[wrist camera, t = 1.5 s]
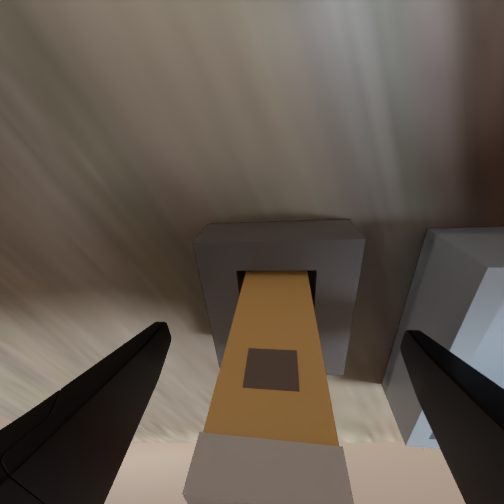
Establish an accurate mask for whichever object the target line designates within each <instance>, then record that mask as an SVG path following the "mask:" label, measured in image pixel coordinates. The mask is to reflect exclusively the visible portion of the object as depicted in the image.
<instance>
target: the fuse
mask: <svg viewBox="0 0 504 504" xmlns="http://www.w3.org/2000/svg"><path fill="white" fill-rule="evenodd" d="M183 495H184V497H185V499H186V501H187V503H188V504H354V502H353V497H352V491H351V486H350V481H349V476H348V471H347V466H346V461H345V456H344V451H343V447H340V446H339V443H338V437H337V432H336V426H335V421H334V416H333V410H332V405H331V399H330V394H329V388H328V383H327V377H326V372H325V366H324V361H323V355H322V350H321V344H320V339H319V333H318V328H317V322H316V317H315V311H314V306H313V300H312V295H311V289H310V284H309V278H308V273H307V270H267V271H246V274H245V277H244V281H243V285H242V288H241V292H240V296H239V300H238V303H237V307H236V311H235V315H234V318H233V322H232V326H231V330H230V333H229V337H228V341H227V345H226V348H225V352H224V356H223V360H222V363H221V367H220V371H219V375H218V378H217V382H216V386H215V390H214V393H213V397H212V401H211V405H210V408H209V412H208V416H207V419H206V423H205V427H204V431H203V432H199V436H198V440H197V443H196V447H195V450H194V454H193V457H192V461H191V465H190V468H189V472H188V475H187V479H186V482H185V487H184V490H183Z"/></svg>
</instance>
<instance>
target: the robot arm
mask: <svg viewBox="0 0 504 504" xmlns="http://www.w3.org/2000/svg"><path fill="white" fill-rule="evenodd" d="M170 343H171V334H170V331H169V328H168V325H167V323H166V322H155V323H153V324H152V325H150V326H149V327H148V328H146V329H145V330H143V331H142V332H140V333H139V334H138V335H136V336H135V337H133V338H132V339H131V340H129V341H128V342H126V343H125V344H124V345H122V346H121V347H119V348H118V349H117V350H115V351H114V352H112V353H111V354H109V355H108V356H107V357H105V358H104V359H102V360H101V361H100V362H98V363H97V364H95V365H94V366H93V367H91V368H90V369H88V370H87V371H85V372H84V373H83V374H81V375H80V376H78V377H77V378H76V379H74V380H73V381H71V382H70V383H69V384H67V385H66V386H64V387H63V388H62V389H61V390H59V391H57V392H56V393H54V394H53V395H52V396H50V397H49V398H47V399H46V400H44V401H43V402H42V403H40V404H39V405H37V406H36V407H34V408H33V409H31V410H30V411H28V412H27V413H26V414H24V415H23V416H21V417H19V418H18V419H16V420H15V421H13V422H12V423H11V424H9V425H7V426H6V427H4V428H3V429H1V430H0V504H104V502H105V500H106V498H107V495H108V493H109V491H110V489H111V486H112V484H113V482H114V480H115V477H116V475H117V473H118V470H119V468H120V466H121V464H122V461H123V459H124V457H125V455H126V452H127V450H128V448H129V446H130V443H131V441H132V439H133V436H134V434H135V432H136V430H137V427H138V425H139V423H140V420H141V418H142V416H143V414H144V411H145V409H146V407H147V405H148V402H149V400H150V398H151V395H152V393H153V391H154V389H155V386H156V384H157V381H158V379H159V376H160V373H161V370H162V367H163V364H164V361H165V358H166V355H167V352H168V349H169V346H170ZM400 351H401V354H402V357H403V360H404V363H405V366H406V369H407V372H408V374H409V377H410V380H411V383H412V386H413V389H414V391H415V394H416V397H417V399H418V401H419V404H420V406H421V408H422V410H423V412H424V415H425V417H426V419H427V421H428V423H429V425H430V428H431V430H432V432H433V434H434V436H435V438H436V440H437V443H438V445H439V447H440V449H441V451H442V453H443V456H444V458H445V460H446V462H447V464H448V466H449V468H450V470H451V473H452V475H453V477H454V479H455V481H456V483H457V485H458V488H459V490H460V492H461V494H462V496H463V499H464V501H465V503H466V504H504V389H503V388H502V387H500V386H499V385H497V384H496V383H494V382H493V381H492V380H490V379H489V378H487V377H486V376H484V375H483V374H482V373H480V372H479V371H477V370H476V369H474V368H473V367H472V366H470V365H469V364H467V363H466V362H464V361H463V360H462V359H460V358H459V357H457V356H456V355H454V354H453V353H452V352H450V351H449V350H447V349H446V348H445V347H443V346H442V345H440V344H439V343H437V342H436V341H435V340H433V339H432V338H430V337H429V336H427V335H426V334H425V333H423V332H422V331H420V330H406V331H405V332H404V335H403V338H402V342H401V345H400Z"/></svg>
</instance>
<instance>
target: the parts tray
mask: <svg viewBox="0 0 504 504" xmlns="http://www.w3.org/2000/svg"><path fill="white" fill-rule="evenodd" d="M406 330H420V331H422V332H423V333H425V334H426V335H427V336H429V337H430V338H432V339H433V340H435V341H436V342H437V343H439V344H440V345H442V346H443V347H445V348H446V349H447V350H449V351H450V352H452V353H453V354H454V355H456V356H457V357H459V358H460V359H462V360H463V361H464V362H466V363H467V364H469V365H470V366H472V367H473V368H474V369H476V370H477V371H479V372H480V373H482V374H483V375H484V376H486V377H487V378H489V379H490V380H492V381H493V382H494V383H496V384H497V385H499V386H500V387H502V388H503V389H504V227H470V228H432V229H427V232H426V235H425V239H424V242H423V246H422V249H421V252H420V256H419V259H418V263H417V266H416V269H415V273H414V276H413V280H412V283H411V286H410V290H409V293H408V297H407V300H406V304H405V307H404V310H403V314H402V317H401V321H400V324H399V327H398V331H397V334H396V338H395V341H394V344H393V348H392V351H391V355H390V358H389V361H388V365H387V368H386V372H385V375H384V379H383V382H382V387H383V389H384V392H385V395H386V397H387V400H388V402H389V405H390V407H391V410H392V412H393V415H394V417H395V420H396V422H397V425H398V427H399V430H400V432H401V435H402V437H403V440H404V442H405V445H406V446H415V447H424V448H434V449H440V447H439V445H438V443H437V440H436V438H435V436H434V434H433V432H432V430H431V428H430V425H429V423H428V421H427V419H426V417H425V415H424V412H423V410H422V408H421V406H420V404H419V401H418V399H417V397H416V394H415V391H414V389H413V386H412V383H411V380H410V377H409V374H408V372H407V369H406V366H405V363H404V360H403V357H402V354H401V351H400V345H401V342H402V338H403V335H404V332H405V331H406Z"/></svg>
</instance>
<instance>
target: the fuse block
mask: <svg viewBox="0 0 504 504" xmlns="http://www.w3.org/2000/svg"><path fill="white" fill-rule="evenodd" d="M365 242H366V239H365V237H364V236H363V235H362V234H361V232H360V231H359V230H358V229H357V227H356V226H355V225H354V224H353V223H352V221H351V220H350V219H342V220H312V221H282V222H251V223H221V224H208V225H207V226H206V227H205V228H204V230H203V231H202V232H201V233H200V234H199V236H198V237H197V238H196V239H195V240H194V242H193V248H194V252H195V257H196V262H197V266H198V271H199V275H200V280H201V285H202V289H203V294H204V299H205V303H206V308H207V312H208V317H209V322H210V326H211V331H212V335H213V340H214V345H215V349H216V354H217V359H218V363H219V368H220V367H221V363H222V360H223V356H224V352H225V348H226V345H227V341H228V337H229V333H230V330H231V326H232V322H233V318H234V315H235V311H236V307H237V303H238V300H239V296H240V292H241V288H242V285H243V281H244V277H245V274H246V271H267V270H310V277H309V284H310V289H311V295H312V300H313V306H314V311H315V317H316V322H317V328H318V333H319V339H320V344H321V350H322V355H323V361H324V366H325V372H326V375H342V376H343V375H344V369H345V363H346V357H347V351H348V345H349V339H350V332H351V326H352V320H353V314H354V308H355V302H356V296H357V290H358V284H359V278H360V272H361V266H362V260H363V254H364V248H365Z"/></svg>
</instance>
